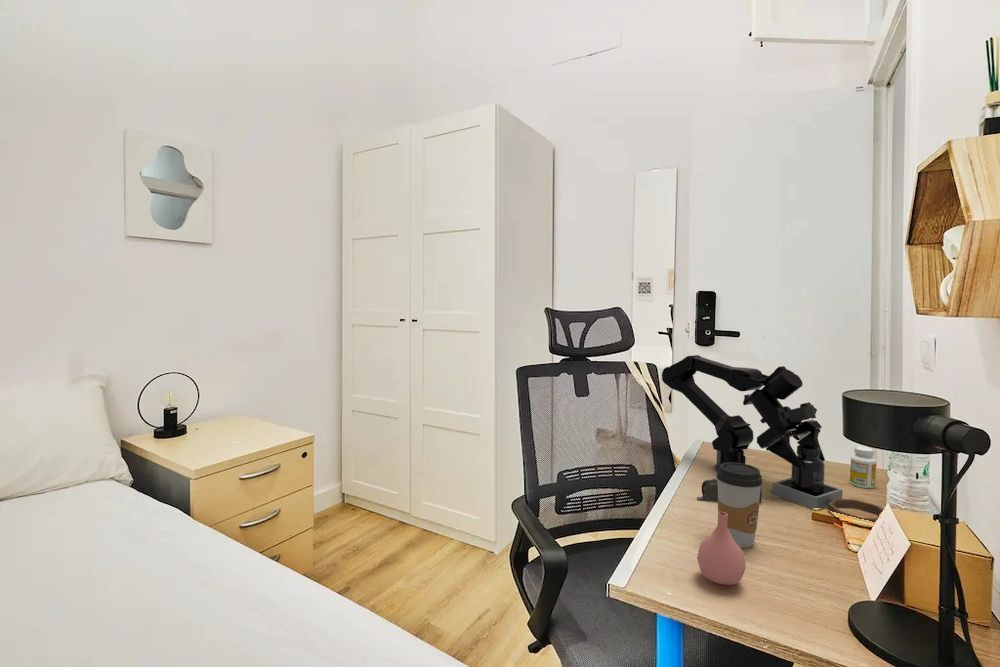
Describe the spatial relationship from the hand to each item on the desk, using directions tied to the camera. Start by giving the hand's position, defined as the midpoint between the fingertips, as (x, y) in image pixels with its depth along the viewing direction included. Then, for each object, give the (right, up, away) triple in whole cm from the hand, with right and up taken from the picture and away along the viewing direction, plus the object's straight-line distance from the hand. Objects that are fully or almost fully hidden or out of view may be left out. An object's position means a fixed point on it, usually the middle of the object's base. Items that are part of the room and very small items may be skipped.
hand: (812, 464), depth 120 cm
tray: (0, -9, +1) cm, 9 cm away
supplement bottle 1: (0, -8, +2) cm, 8 cm away
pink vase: (-37, -11, -34) cm, 52 cm away
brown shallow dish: (+5, -9, -9) cm, 14 cm away
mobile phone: (-20, -9, 0) cm, 22 cm away
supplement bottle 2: (+20, -8, +10) cm, 24 cm away
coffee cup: (-28, -10, -20) cm, 36 cm away
